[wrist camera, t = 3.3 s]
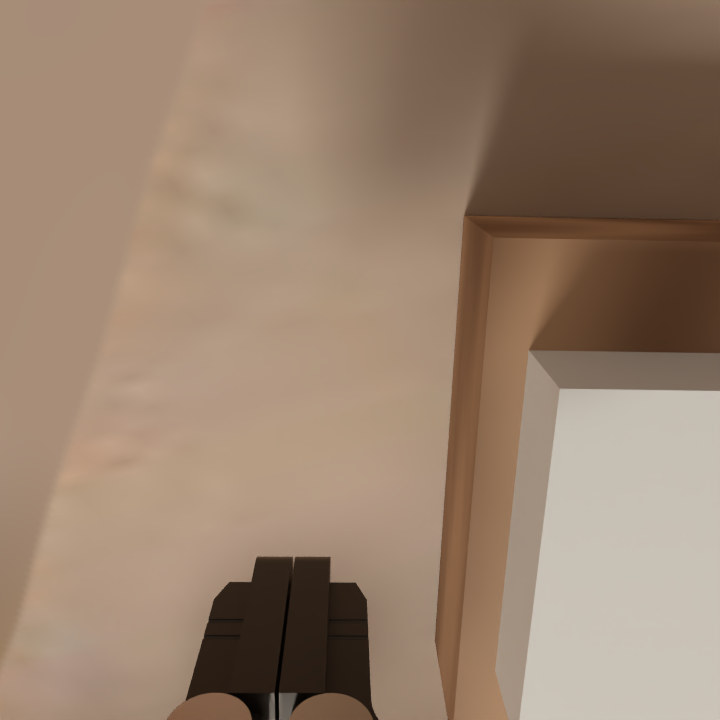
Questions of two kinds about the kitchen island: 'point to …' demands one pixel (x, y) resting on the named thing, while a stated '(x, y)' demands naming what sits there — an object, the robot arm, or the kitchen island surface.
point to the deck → (508, 375)
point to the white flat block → (614, 540)
